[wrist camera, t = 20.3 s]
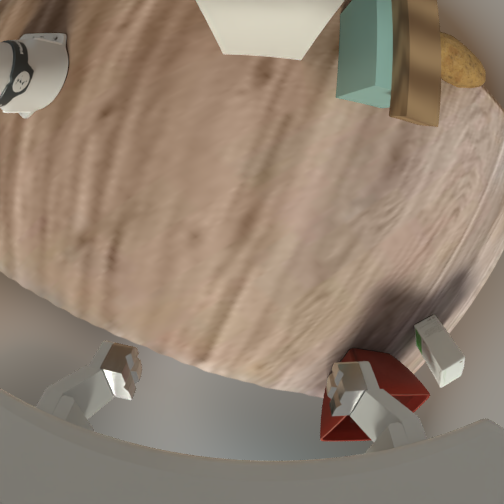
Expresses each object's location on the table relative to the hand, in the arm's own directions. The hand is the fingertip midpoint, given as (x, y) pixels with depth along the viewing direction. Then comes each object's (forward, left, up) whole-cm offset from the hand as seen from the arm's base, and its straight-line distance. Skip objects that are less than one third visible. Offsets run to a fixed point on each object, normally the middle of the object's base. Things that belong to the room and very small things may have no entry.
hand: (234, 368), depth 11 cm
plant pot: (+47, -21, -37) cm, 64 cm away
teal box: (+2, +28, -37) cm, 47 cm away
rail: (+2, +28, -21) cm, 35 cm away
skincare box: (+54, -3, -37) cm, 66 cm away
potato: (+14, +41, -37) cm, 57 cm away
